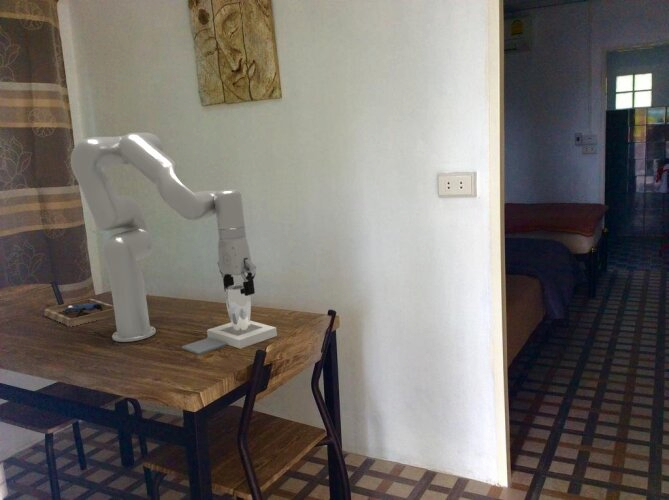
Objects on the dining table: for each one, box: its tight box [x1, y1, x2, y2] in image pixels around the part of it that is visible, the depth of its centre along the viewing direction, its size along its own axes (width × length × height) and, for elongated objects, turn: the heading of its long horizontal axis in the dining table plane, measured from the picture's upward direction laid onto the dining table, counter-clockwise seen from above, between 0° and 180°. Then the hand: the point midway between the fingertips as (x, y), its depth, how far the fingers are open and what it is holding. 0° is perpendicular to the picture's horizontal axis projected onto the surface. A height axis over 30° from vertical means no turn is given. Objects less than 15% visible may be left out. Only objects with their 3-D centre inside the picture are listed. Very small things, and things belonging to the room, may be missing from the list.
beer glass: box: [225, 283, 252, 336], centre depth 175 cm, size 7×7×15 cm
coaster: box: [181, 337, 228, 356], centre depth 169 cm, size 9×9×1 cm
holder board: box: [206, 320, 278, 350], centre depth 176 cm, size 16×13×2 cm
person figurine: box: [64, 303, 103, 318], centre depth 213 cm, size 11×4×18 cm
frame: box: [43, 297, 115, 328], centre depth 213 cm, size 24×17×2 cm
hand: (239, 292), depth 173 cm, fingers open, 9 cm apart
